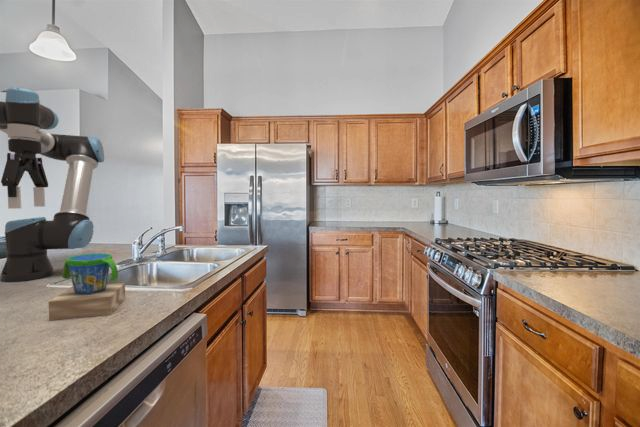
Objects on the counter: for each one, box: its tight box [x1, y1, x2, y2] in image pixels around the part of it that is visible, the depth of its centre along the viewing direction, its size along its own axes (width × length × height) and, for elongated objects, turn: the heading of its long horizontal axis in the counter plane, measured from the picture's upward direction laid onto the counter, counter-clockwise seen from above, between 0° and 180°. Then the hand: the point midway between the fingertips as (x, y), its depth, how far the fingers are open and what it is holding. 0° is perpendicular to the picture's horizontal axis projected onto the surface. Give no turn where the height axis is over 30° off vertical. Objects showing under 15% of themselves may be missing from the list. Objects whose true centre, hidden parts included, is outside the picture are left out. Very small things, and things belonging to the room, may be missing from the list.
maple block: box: [48, 282, 126, 321], centre depth 90 cm, size 14×14×5 cm
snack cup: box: [62, 253, 119, 294], centre depth 90 cm, size 16×10×10 cm
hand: (28, 207), depth 98 cm, fingers open, 13 cm apart
